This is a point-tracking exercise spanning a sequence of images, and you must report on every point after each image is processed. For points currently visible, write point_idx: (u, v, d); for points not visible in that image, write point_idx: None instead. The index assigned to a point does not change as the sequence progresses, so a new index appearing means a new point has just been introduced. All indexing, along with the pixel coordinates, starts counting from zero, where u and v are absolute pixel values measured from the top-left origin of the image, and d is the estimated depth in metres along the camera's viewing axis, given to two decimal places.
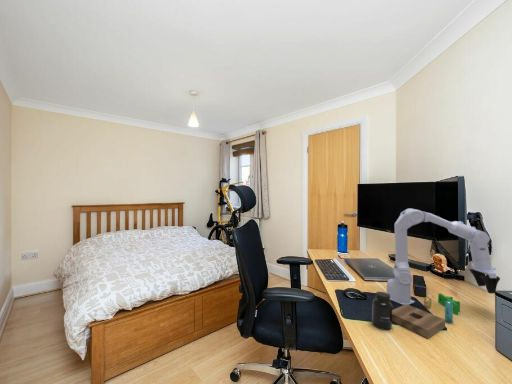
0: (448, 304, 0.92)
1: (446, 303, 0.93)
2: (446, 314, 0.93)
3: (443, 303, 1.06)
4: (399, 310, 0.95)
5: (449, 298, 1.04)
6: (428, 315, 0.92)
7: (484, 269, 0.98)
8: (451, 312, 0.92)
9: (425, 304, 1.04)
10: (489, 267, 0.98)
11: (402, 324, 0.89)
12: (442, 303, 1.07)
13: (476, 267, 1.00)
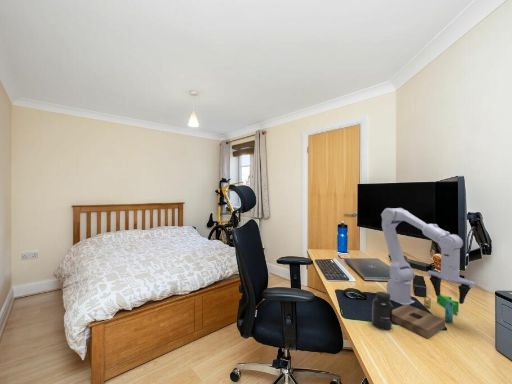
0: (448, 304, 0.92)
1: (446, 303, 0.93)
2: (446, 314, 0.93)
3: (442, 303, 1.06)
4: (399, 310, 0.95)
5: (448, 298, 1.04)
6: (428, 315, 0.92)
7: None
8: (451, 312, 0.92)
9: (425, 304, 1.04)
10: None
11: (402, 324, 0.89)
12: (441, 303, 1.07)
13: None
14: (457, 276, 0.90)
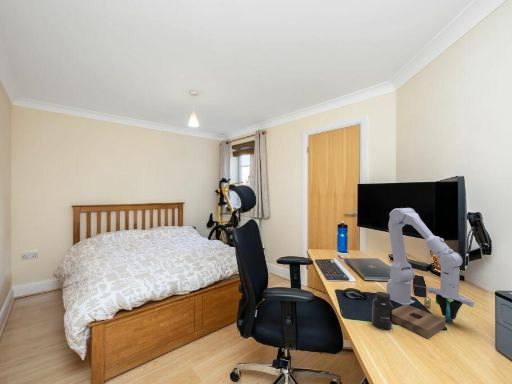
0: (448, 304, 0.92)
1: (446, 303, 0.93)
2: (446, 314, 0.93)
3: None
4: (399, 310, 0.95)
5: None
6: (428, 315, 0.92)
7: None
8: None
9: (425, 304, 1.04)
10: (440, 290, 0.94)
11: (402, 324, 0.89)
12: None
13: None
14: (457, 294, 0.90)
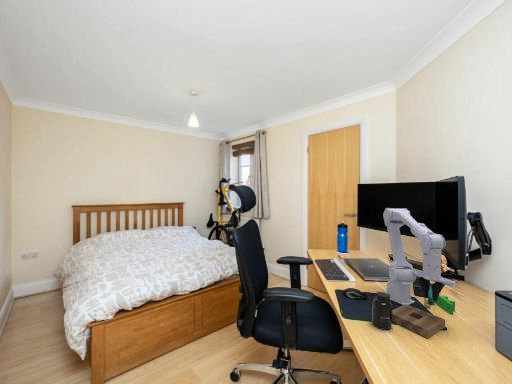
0: (431, 286, 0.91)
1: (428, 285, 0.92)
2: (428, 296, 0.92)
3: (438, 303, 1.06)
4: (399, 310, 0.95)
5: (444, 298, 1.05)
6: (428, 315, 0.92)
7: None
8: None
9: (425, 304, 1.04)
10: (422, 272, 0.94)
11: (402, 324, 0.89)
12: (437, 303, 1.07)
13: None
14: (438, 276, 0.89)
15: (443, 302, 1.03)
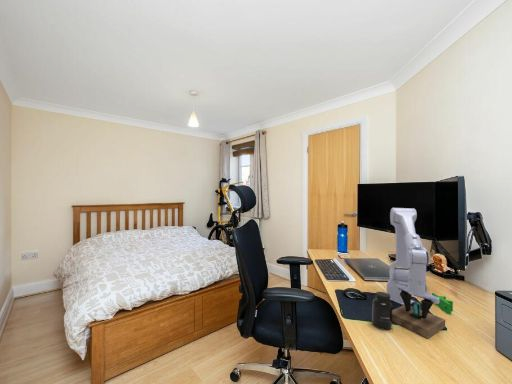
0: (415, 305, 0.91)
1: (413, 304, 0.92)
2: (413, 315, 0.91)
3: None
4: (399, 310, 0.95)
5: (442, 298, 1.05)
6: (428, 315, 0.92)
7: None
8: (418, 313, 0.90)
9: None
10: (408, 287, 0.93)
11: (402, 324, 0.89)
12: None
13: None
14: (423, 291, 0.89)
15: (441, 302, 1.03)
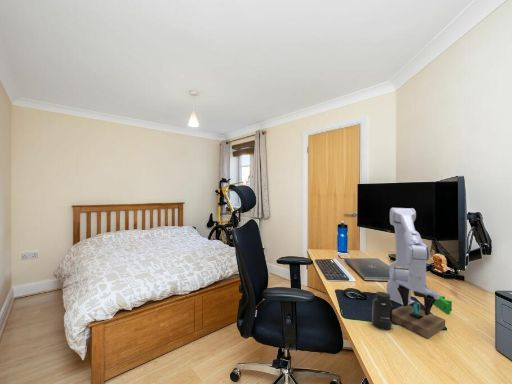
0: (415, 305, 0.91)
1: (413, 304, 0.92)
2: (413, 315, 0.91)
3: (435, 302, 1.06)
4: (399, 310, 0.95)
5: (441, 297, 1.05)
6: (428, 315, 0.92)
7: None
8: (418, 313, 0.90)
9: None
10: (408, 282, 0.93)
11: (402, 324, 0.89)
12: (434, 302, 1.07)
13: None
14: (423, 287, 0.89)
15: (440, 302, 1.03)
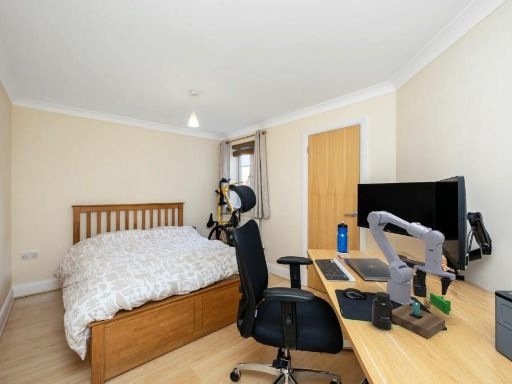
0: (415, 305, 0.91)
1: (413, 304, 0.92)
2: (413, 315, 0.91)
3: (434, 302, 1.06)
4: (399, 310, 0.95)
5: (440, 297, 1.05)
6: (428, 315, 0.92)
7: None
8: (418, 313, 0.90)
9: (425, 304, 1.04)
10: (425, 266, 1.01)
11: (402, 324, 0.89)
12: (433, 302, 1.07)
13: None
14: (439, 269, 0.97)
15: (438, 301, 1.03)
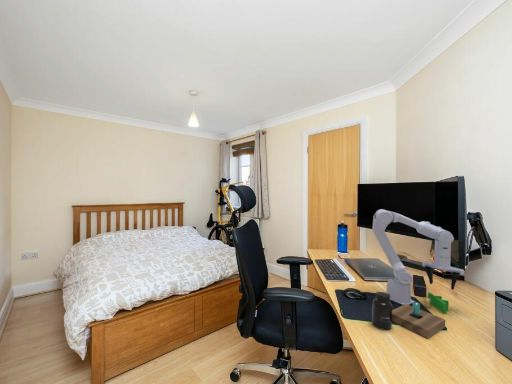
0: (415, 305, 0.91)
1: (413, 304, 0.92)
2: (413, 315, 0.91)
3: (432, 302, 1.07)
4: (399, 310, 0.95)
5: (438, 297, 1.05)
6: (428, 315, 0.92)
7: None
8: (418, 313, 0.90)
9: (425, 304, 1.04)
10: (434, 263, 1.06)
11: (402, 324, 0.89)
12: (431, 302, 1.07)
13: None
14: (449, 265, 1.03)
15: (436, 301, 1.04)
